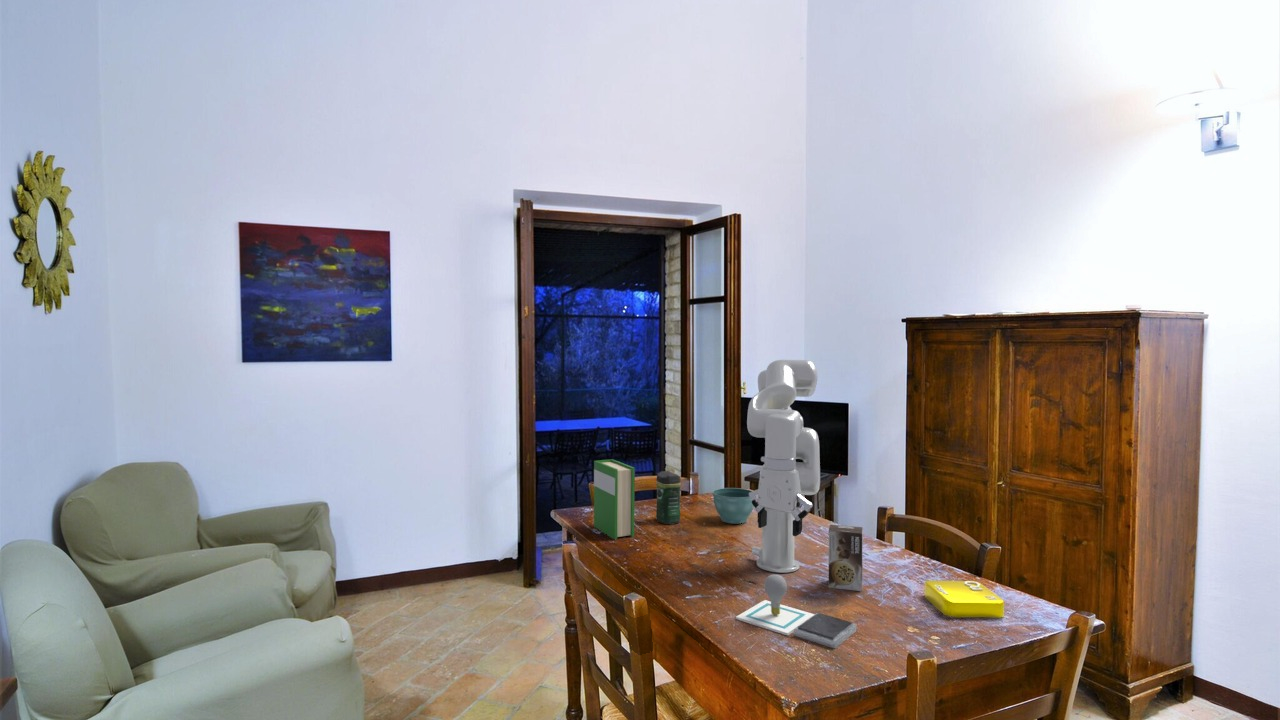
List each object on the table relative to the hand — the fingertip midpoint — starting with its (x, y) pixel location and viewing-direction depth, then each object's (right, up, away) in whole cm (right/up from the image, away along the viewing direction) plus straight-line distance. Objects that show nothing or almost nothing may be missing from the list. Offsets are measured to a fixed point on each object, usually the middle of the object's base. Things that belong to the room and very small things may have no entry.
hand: (779, 530), depth 170 cm
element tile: (+48, -21, +4) cm, 53 cm away
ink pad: (+8, -21, -13) cm, 26 cm away
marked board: (-2, -20, -4) cm, 21 cm away
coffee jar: (-25, -18, +82) cm, 87 cm away
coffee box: (+22, -20, +18) cm, 35 cm away
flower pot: (0, -18, +83) cm, 85 cm away
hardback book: (-44, -18, +68) cm, 83 cm away
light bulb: (-2, -20, -4) cm, 20 cm away
